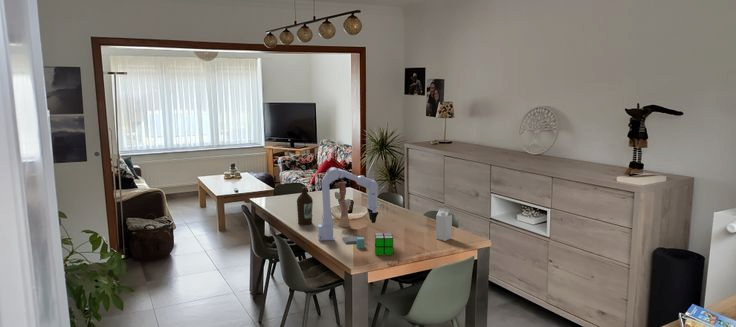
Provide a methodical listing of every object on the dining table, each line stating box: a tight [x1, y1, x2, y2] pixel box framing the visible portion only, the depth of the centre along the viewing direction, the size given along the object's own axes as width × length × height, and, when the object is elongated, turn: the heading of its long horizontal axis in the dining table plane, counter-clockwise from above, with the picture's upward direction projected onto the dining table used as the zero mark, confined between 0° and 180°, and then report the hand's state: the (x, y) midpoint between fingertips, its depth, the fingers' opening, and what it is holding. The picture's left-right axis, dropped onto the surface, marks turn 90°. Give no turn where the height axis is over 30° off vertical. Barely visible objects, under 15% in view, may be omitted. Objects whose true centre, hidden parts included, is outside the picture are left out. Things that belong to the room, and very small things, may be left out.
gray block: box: [341, 235, 358, 245], centre depth 318 cm, size 9×9×2 cm
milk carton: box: [435, 207, 453, 242], centre depth 322 cm, size 7×7×19 cm
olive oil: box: [296, 186, 314, 226], centre depth 356 cm, size 11×11×25 cm
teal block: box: [356, 236, 365, 249], centre depth 307 cm, size 4×4×6 cm
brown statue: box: [334, 181, 351, 228], centre depth 350 cm, size 11×7×30 cm
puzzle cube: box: [374, 232, 394, 256], centre depth 297 cm, size 10×10×10 cm
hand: (372, 221), depth 325 cm, fingers open, 7 cm apart
